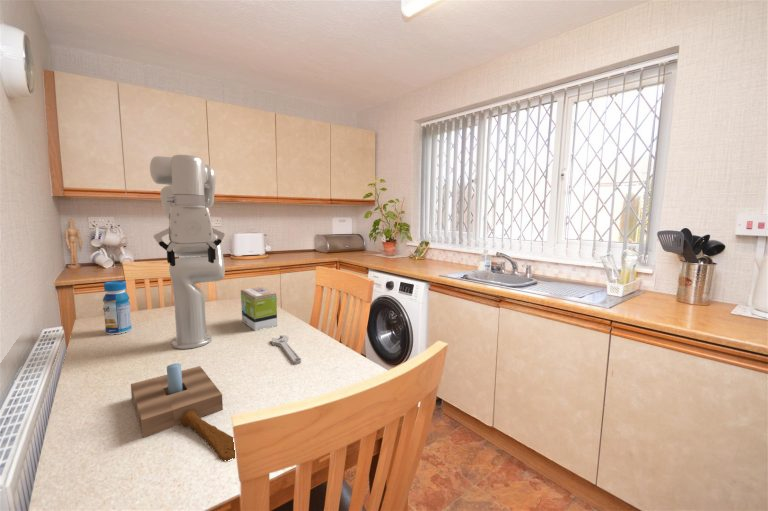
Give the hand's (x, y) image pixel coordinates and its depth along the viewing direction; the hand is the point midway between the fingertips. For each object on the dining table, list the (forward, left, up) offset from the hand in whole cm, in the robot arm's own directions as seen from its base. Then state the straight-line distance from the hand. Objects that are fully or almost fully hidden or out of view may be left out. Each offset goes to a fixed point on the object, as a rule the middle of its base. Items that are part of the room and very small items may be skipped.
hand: (192, 263), depth 95 cm
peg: (+12, -8, -33) cm, 36 cm away
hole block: (+12, -8, -33) cm, 36 cm away
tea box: (-35, +32, -34) cm, 58 cm away
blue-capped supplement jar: (-61, -14, -34) cm, 71 cm away
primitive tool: (+32, -5, -34) cm, 47 cm away
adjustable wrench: (-2, +28, -34) cm, 44 cm away
